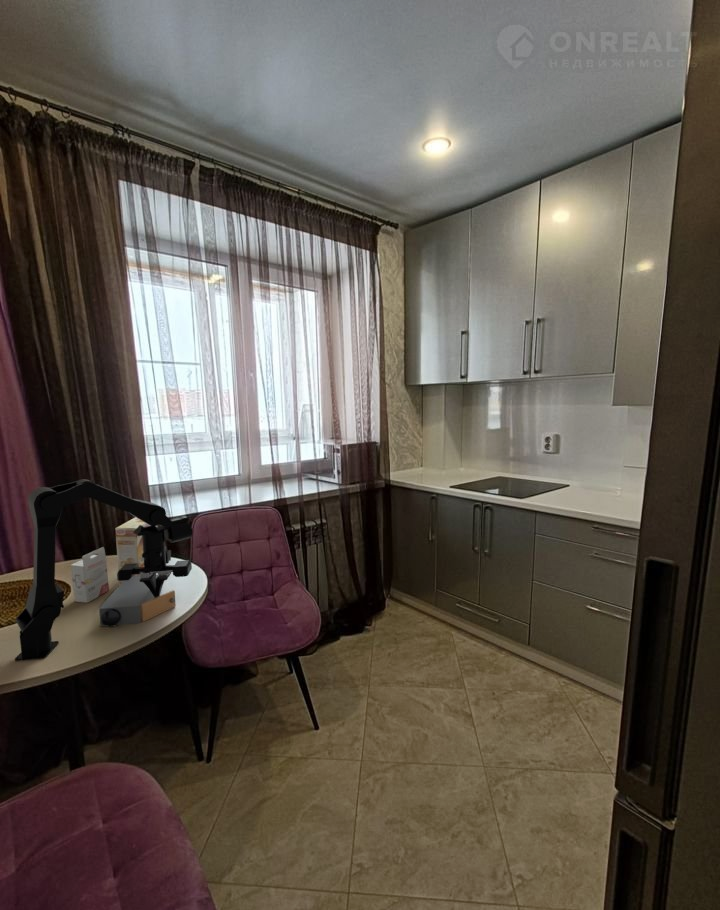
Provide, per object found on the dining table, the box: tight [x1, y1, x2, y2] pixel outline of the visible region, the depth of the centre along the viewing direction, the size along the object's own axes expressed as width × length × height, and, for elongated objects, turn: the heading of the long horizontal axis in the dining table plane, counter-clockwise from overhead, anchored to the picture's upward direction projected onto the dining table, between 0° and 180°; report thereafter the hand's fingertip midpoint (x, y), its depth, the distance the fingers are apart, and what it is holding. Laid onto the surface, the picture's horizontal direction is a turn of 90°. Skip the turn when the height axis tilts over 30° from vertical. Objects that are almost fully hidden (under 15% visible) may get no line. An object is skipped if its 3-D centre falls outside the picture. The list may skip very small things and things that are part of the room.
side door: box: [141, 589, 177, 622], centre depth 118 cm, size 10×2×5 cm, turn 150°
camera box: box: [98, 574, 159, 627], centre depth 122 cm, size 21×10×5 cm, turn 10°
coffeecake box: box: [114, 516, 158, 586], centre depth 142 cm, size 15×7×20 cm, turn 1°
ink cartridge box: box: [70, 546, 110, 604], centre depth 128 cm, size 9×5×15 cm, turn 168°
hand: (157, 597), depth 121 cm, fingers closed
